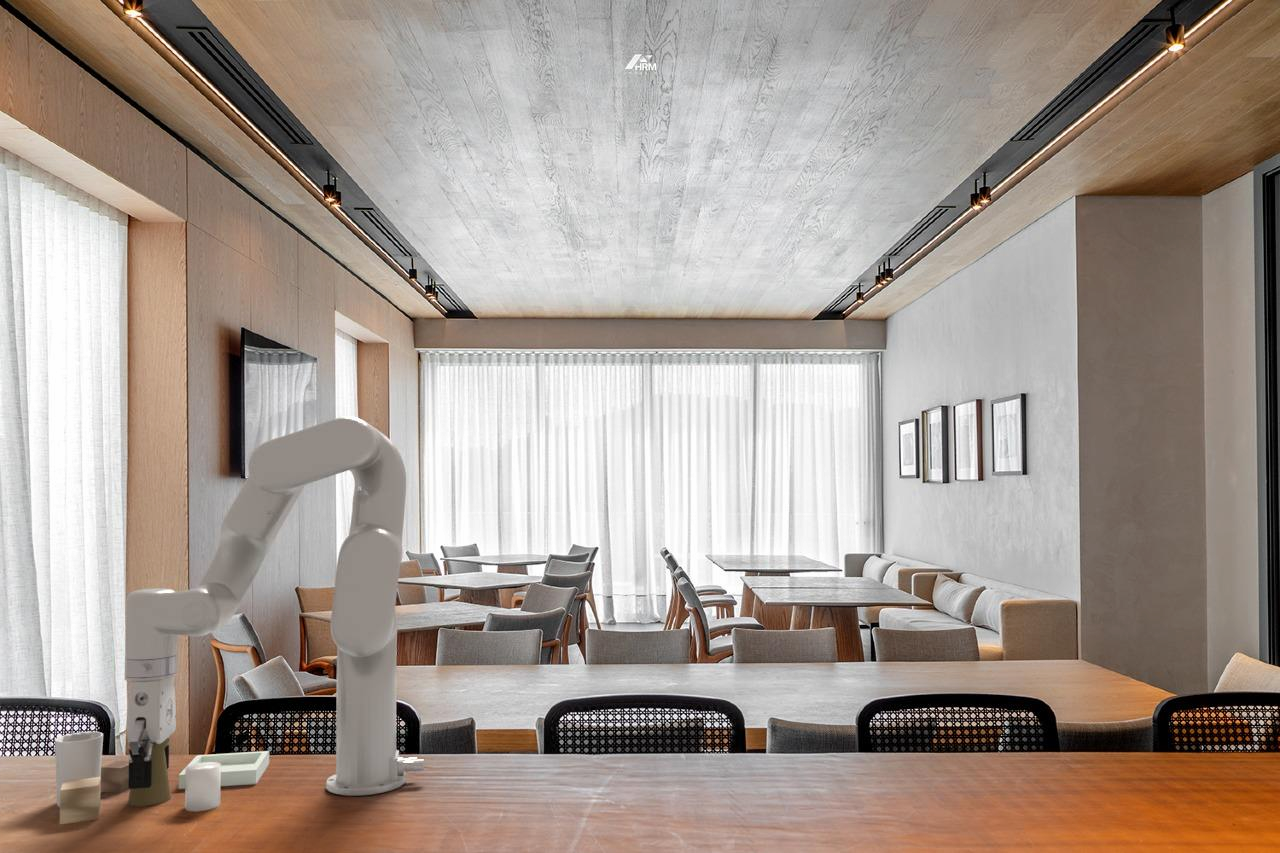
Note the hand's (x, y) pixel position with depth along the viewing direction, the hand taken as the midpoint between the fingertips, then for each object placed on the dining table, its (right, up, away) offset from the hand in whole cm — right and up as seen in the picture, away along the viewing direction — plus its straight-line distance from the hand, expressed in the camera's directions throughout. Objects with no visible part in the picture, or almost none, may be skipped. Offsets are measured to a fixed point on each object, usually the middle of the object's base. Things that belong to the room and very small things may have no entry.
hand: (149, 778), depth 156 cm
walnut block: (-8, -4, +6) cm, 11 cm away
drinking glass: (-11, -4, 0) cm, 12 cm away
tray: (+7, -4, +12) cm, 15 cm away
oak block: (-7, -3, -8) cm, 11 cm away
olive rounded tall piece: (0, -4, 0) cm, 4 cm away
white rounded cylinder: (+10, -3, -3) cm, 11 cm away
